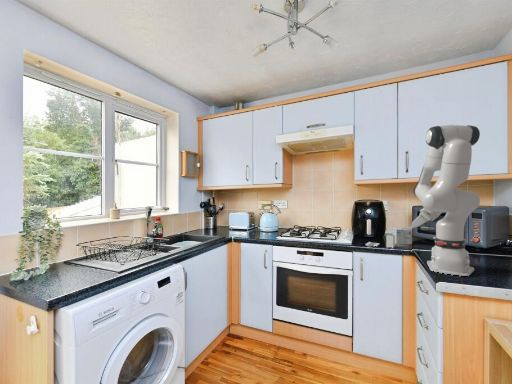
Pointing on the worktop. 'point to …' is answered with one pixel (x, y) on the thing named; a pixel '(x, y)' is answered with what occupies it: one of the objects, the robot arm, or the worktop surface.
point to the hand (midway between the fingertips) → (409, 228)
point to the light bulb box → (402, 235)
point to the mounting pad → (372, 244)
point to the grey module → (390, 240)
